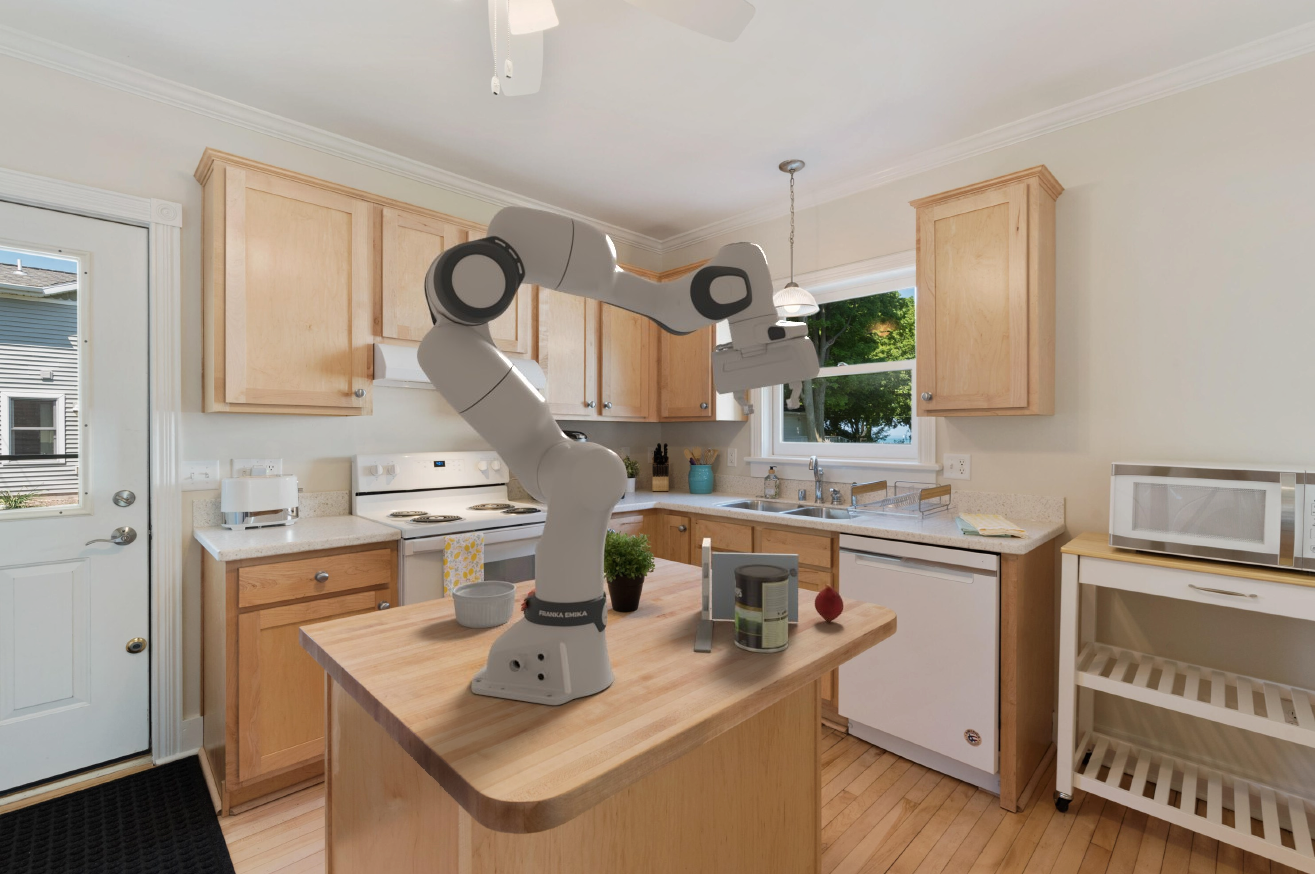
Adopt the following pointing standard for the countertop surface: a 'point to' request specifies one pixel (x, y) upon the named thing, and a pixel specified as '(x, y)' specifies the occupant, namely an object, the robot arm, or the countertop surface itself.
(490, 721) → the countertop surface
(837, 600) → the onion
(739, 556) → the door
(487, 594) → the ramekin
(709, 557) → the door frame
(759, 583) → the coffee can
